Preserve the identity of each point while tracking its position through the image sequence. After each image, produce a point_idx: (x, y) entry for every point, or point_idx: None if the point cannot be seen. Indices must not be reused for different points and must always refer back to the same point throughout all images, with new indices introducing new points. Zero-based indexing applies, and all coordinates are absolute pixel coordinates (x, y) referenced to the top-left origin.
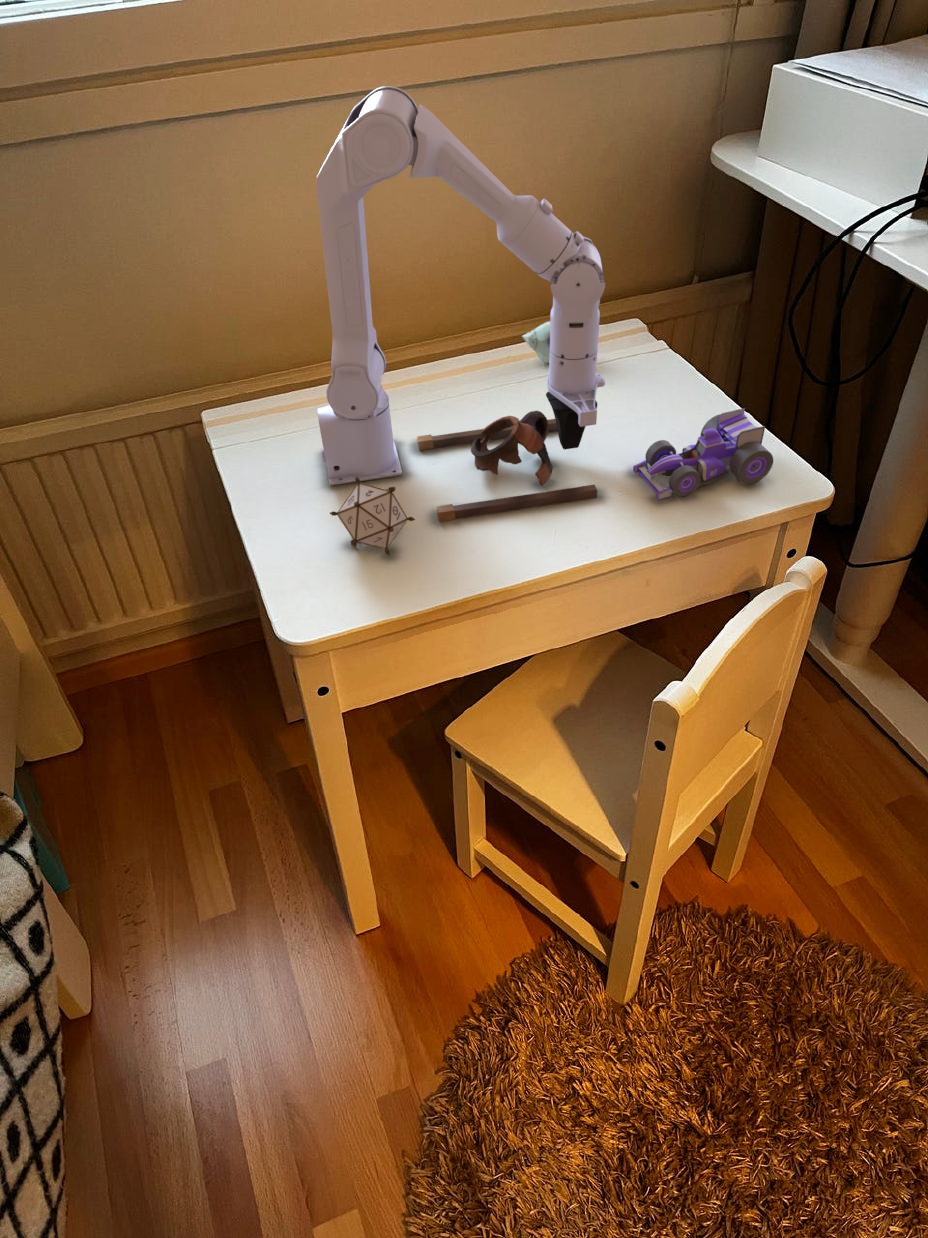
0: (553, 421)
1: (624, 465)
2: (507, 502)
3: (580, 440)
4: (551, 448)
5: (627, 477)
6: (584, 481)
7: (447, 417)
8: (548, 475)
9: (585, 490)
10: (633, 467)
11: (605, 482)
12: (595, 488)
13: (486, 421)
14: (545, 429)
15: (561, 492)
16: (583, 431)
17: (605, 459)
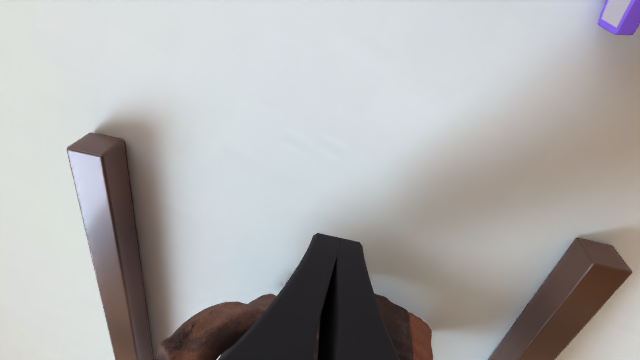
0: (93, 184)
1: (503, 28)
2: None
3: (365, 265)
4: (240, 224)
5: (600, 69)
6: (489, 230)
7: (28, 347)
8: (416, 328)
9: (597, 302)
10: (615, 33)
11: (554, 173)
12: (619, 272)
13: (50, 296)
14: (231, 337)
15: (541, 354)
16: (378, 309)
17: (403, 88)
